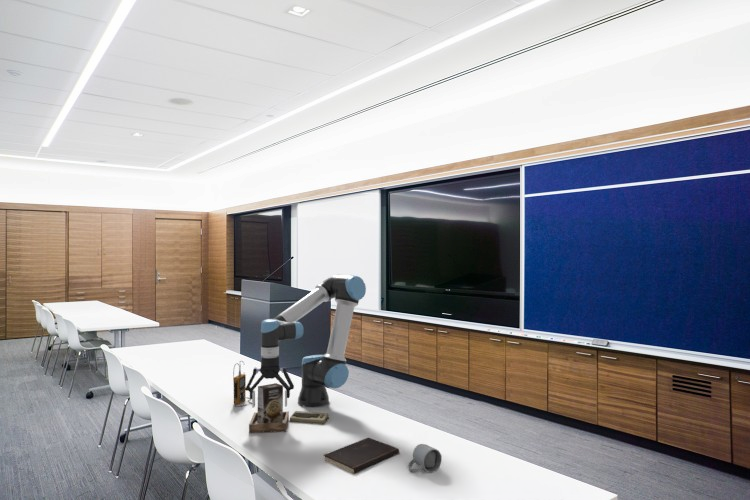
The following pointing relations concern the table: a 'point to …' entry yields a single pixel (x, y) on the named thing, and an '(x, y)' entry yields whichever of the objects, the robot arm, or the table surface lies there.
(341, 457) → the hardcover book
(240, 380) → the multimeter
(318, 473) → the table surface
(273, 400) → the coffee box
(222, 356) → the table surface
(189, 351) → the table surface
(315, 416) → the computer
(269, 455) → the table surface
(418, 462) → the ceramic mug
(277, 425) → the tray
